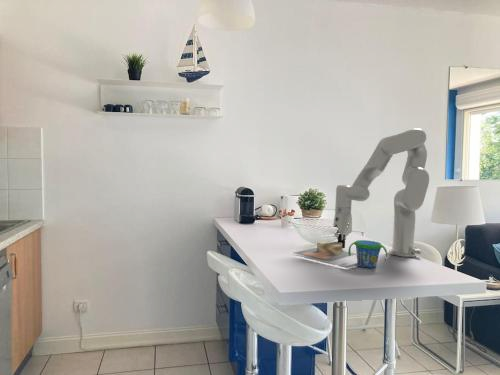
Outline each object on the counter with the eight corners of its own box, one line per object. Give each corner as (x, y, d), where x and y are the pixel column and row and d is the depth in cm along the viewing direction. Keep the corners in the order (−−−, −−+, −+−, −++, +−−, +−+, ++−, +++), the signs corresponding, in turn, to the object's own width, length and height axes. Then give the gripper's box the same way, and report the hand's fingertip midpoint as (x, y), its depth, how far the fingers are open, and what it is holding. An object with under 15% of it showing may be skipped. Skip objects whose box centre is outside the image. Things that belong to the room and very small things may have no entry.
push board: (357, 255, 188) (357, 254, 188) (329, 263, 172) (329, 261, 172) (321, 248, 203) (321, 246, 203) (292, 254, 186) (292, 252, 186)
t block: (348, 252, 191) (348, 244, 191) (336, 255, 184) (337, 246, 184) (328, 248, 199) (329, 240, 199) (316, 250, 192) (317, 242, 192)
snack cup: (388, 266, 170) (390, 242, 169) (383, 272, 161) (384, 247, 160) (351, 261, 178) (353, 238, 177) (344, 266, 168) (346, 241, 168)
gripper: (341, 212, 188) (339, 251, 189) (358, 210, 198) (356, 247, 199) (327, 210, 193) (325, 248, 194) (344, 208, 204) (342, 244, 205)
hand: (341, 247), depth 197 cm, fingers closed
